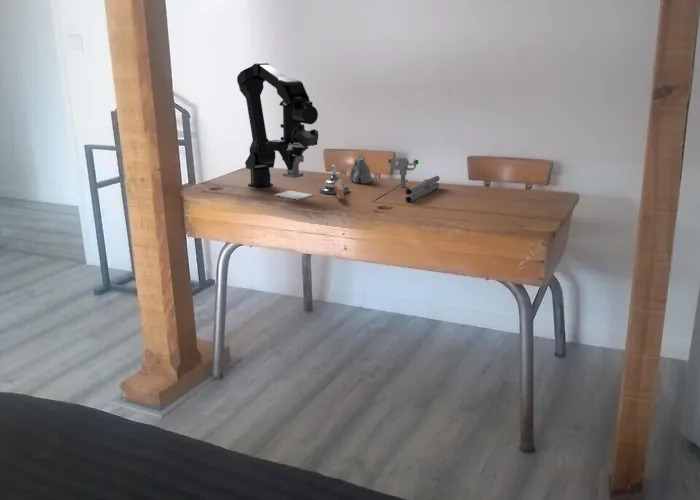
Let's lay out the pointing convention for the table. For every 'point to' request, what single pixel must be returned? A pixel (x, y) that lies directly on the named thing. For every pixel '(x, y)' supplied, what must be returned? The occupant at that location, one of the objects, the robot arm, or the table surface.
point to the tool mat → (293, 195)
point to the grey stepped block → (294, 167)
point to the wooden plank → (335, 184)
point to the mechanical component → (402, 167)
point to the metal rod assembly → (424, 186)
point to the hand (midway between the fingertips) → (292, 169)
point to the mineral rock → (360, 171)
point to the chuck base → (331, 192)
